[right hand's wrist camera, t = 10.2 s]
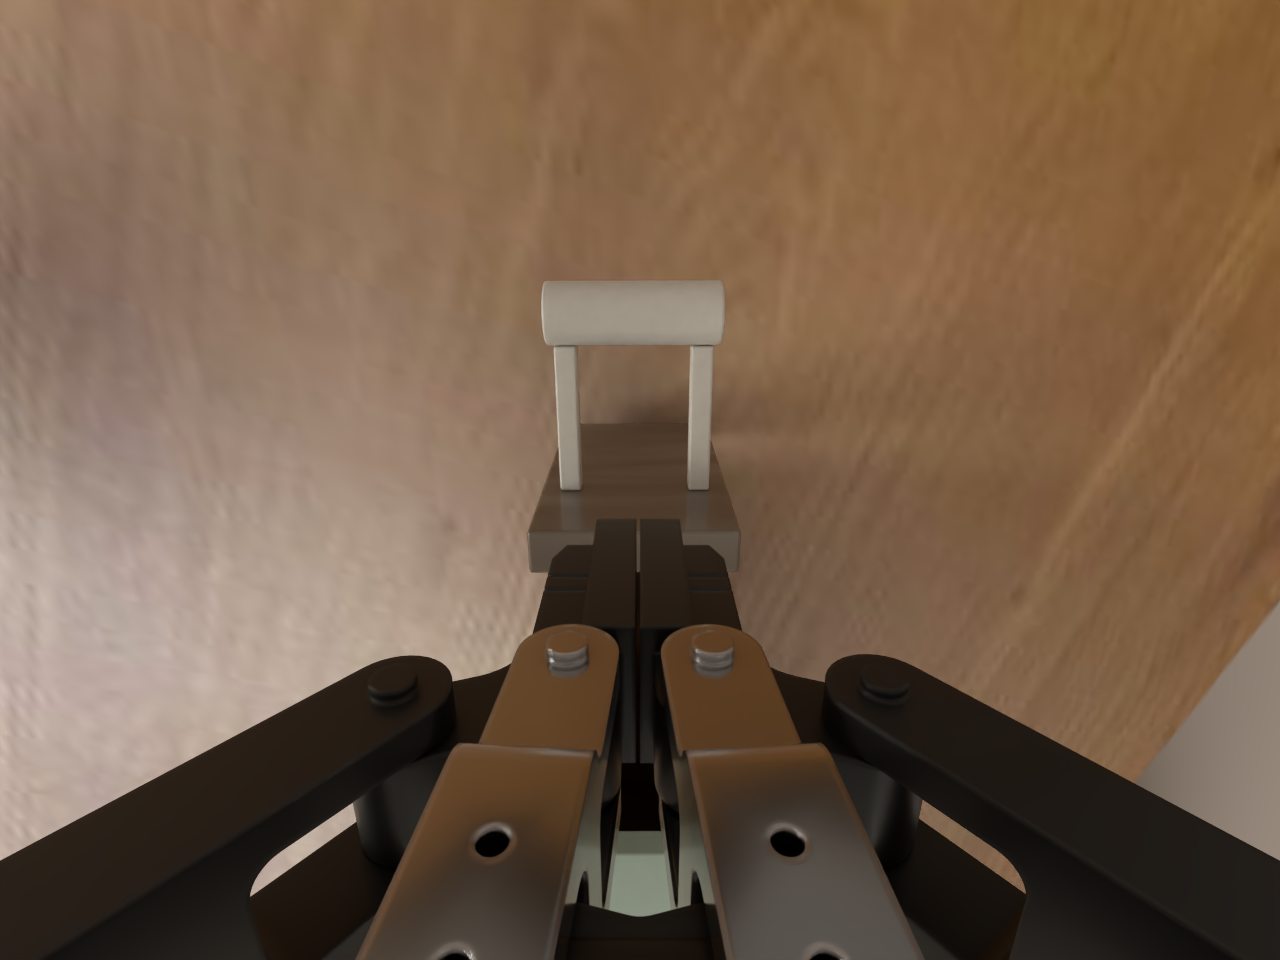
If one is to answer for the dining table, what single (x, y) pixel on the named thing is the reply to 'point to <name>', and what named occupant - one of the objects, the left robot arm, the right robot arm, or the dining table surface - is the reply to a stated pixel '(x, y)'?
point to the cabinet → (639, 875)
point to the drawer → (633, 449)
